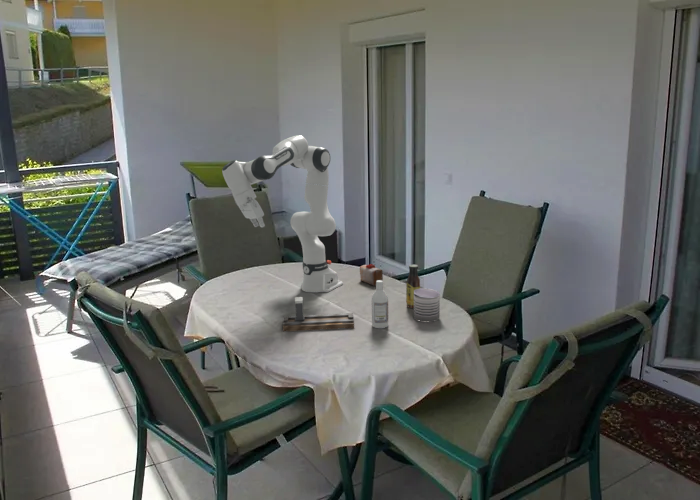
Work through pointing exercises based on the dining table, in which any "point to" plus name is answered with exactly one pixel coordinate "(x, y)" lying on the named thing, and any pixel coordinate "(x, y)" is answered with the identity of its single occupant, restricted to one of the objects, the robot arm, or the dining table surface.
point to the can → (426, 304)
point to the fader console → (319, 322)
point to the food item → (370, 274)
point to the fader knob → (299, 309)
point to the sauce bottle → (412, 285)
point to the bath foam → (379, 306)
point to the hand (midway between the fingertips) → (260, 226)
